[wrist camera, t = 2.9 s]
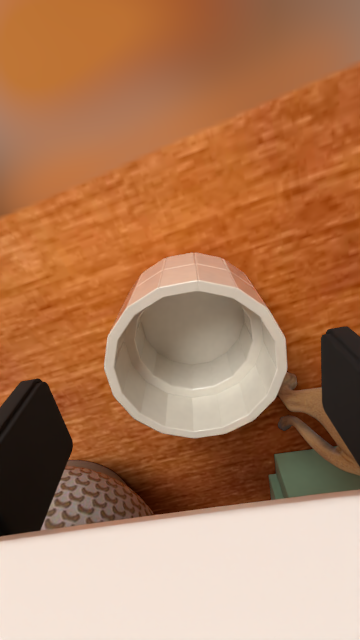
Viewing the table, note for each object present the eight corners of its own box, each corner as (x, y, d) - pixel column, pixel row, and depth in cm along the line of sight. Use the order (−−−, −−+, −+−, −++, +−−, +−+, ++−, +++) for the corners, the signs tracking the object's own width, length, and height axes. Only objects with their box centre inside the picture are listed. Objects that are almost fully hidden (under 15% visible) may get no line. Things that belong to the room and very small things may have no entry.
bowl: (250, 238, 15) (281, 264, 10) (262, 361, 17) (291, 425, 13) (111, 265, 15) (80, 301, 11) (144, 379, 18) (130, 447, 13)
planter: (-60, 487, 22) (-351, 854, 10) (69, 377, 18) (-151, 760, 6) (89, 576, 26) (10, 909, 14) (220, 501, 22) (264, 873, 10)
